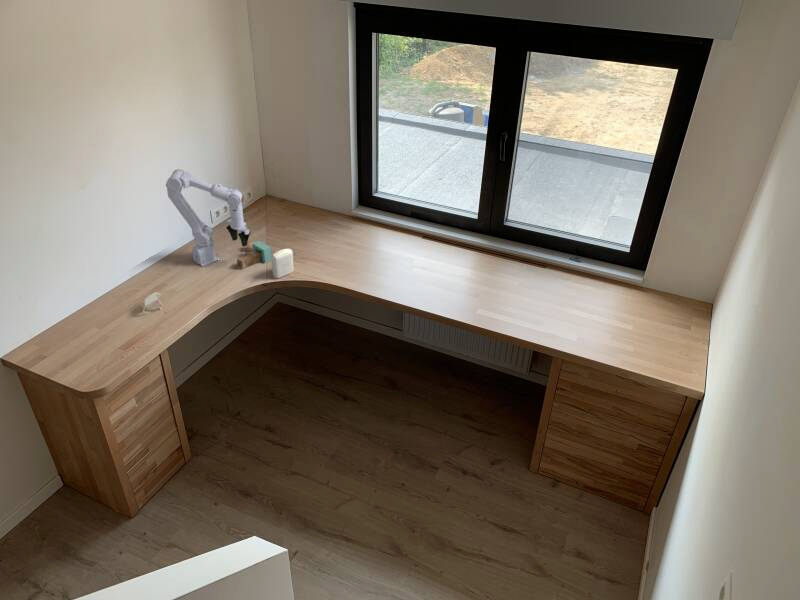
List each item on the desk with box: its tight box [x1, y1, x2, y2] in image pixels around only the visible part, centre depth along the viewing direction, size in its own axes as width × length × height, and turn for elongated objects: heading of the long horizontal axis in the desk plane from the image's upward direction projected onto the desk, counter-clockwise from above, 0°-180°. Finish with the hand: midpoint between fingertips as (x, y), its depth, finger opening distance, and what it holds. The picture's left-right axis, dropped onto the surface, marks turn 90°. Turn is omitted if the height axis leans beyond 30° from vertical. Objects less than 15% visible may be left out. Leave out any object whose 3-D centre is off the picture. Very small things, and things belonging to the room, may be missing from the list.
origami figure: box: [142, 291, 164, 315], centre depth 257 cm, size 12×8×5 cm
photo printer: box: [271, 248, 295, 279], centre depth 280 cm, size 10×4×12 cm, turn 135°
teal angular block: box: [252, 240, 273, 264], centre depth 292 cm, size 4×9×7 cm, turn 48°
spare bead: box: [245, 241, 255, 253], centre depth 299 cm, size 4×4×4 cm
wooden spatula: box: [236, 250, 273, 270], centre depth 290 cm, size 18×3×4 cm, turn 138°
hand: (239, 242), depth 287 cm, fingers open, 7 cm apart
